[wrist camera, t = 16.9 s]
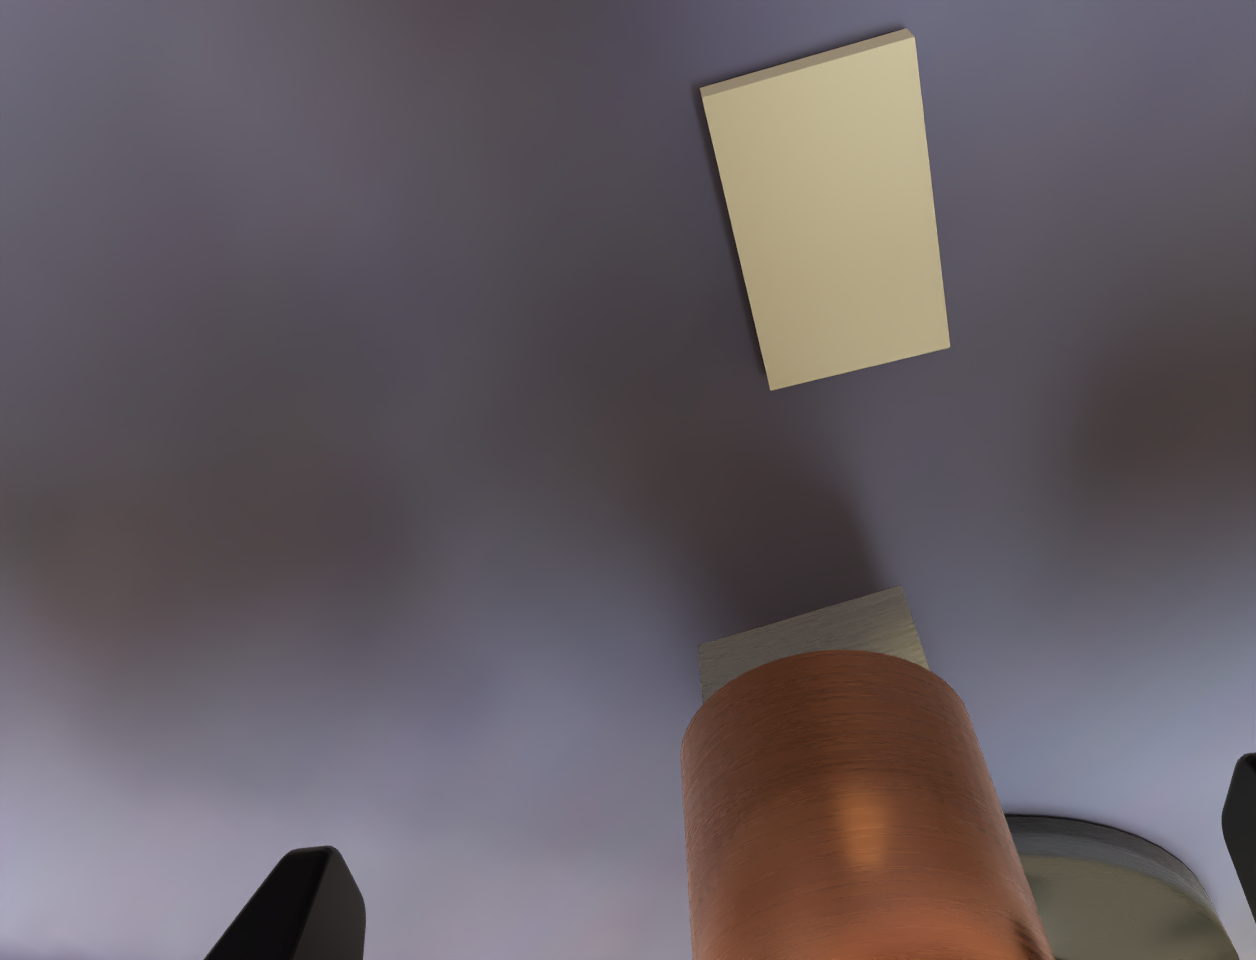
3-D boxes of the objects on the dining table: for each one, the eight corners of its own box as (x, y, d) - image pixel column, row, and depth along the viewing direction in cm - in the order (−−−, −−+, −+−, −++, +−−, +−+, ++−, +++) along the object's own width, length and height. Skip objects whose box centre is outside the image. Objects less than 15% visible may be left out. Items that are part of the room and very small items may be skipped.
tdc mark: (942, 334, 11) (950, 346, 10) (766, 375, 11) (770, 390, 11) (905, 27, 9) (914, 36, 9) (699, 88, 9) (702, 97, 9)
